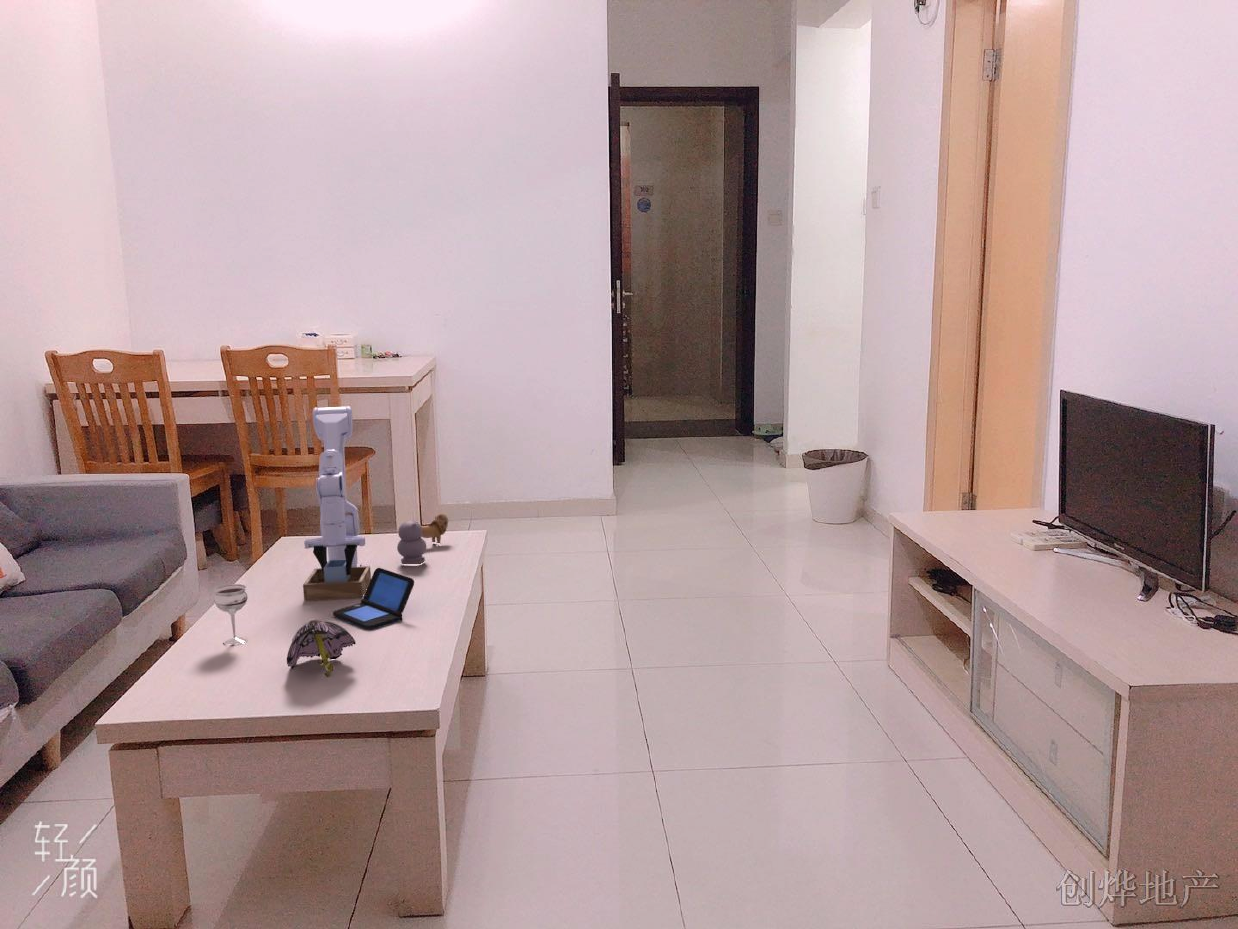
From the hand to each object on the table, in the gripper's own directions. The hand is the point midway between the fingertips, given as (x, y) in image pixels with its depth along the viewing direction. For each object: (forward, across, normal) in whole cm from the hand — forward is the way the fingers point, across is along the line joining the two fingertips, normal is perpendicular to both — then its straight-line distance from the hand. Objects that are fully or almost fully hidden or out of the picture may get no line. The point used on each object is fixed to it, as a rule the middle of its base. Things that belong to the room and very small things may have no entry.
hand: (337, 574), depth 256 cm
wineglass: (+4, -16, -34) cm, 38 cm away
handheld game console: (+5, +12, -21) cm, 25 cm away
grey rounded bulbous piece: (+4, +16, +22) cm, 28 cm away
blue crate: (+2, 0, 0) cm, 2 cm away
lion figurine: (+4, +18, +39) cm, 44 cm away
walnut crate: (+4, 0, 0) cm, 4 cm away
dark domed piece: (+4, +6, -53) cm, 54 cm away
